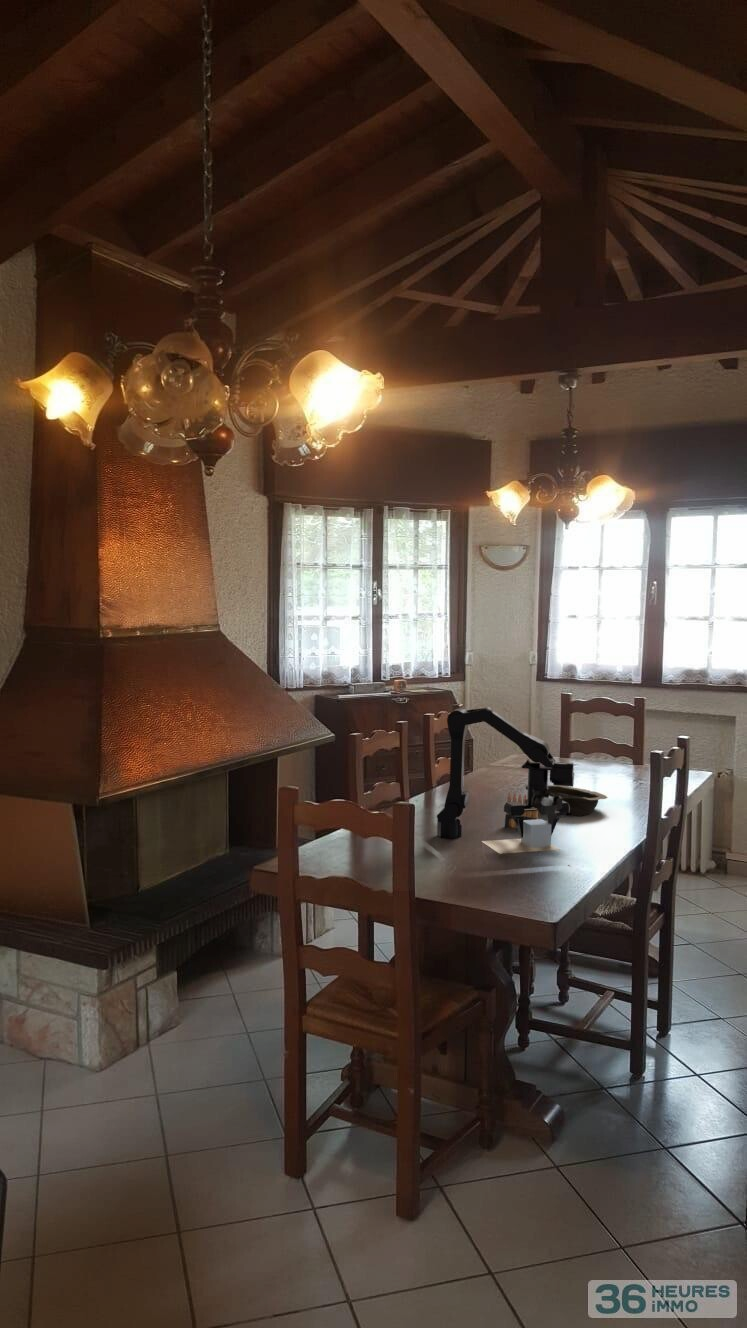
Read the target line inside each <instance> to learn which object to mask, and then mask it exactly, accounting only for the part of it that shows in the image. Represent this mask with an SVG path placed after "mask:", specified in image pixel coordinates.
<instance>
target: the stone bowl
mask: <svg viewBox="0 0 747 1328" xmlns="http://www.w3.org/2000/svg"><path fill="white" fill-rule="evenodd" d="M548 789H550V796H551V797H555V796H561V798H562V800H563V801H565V802H567V803H568V804H569V806H570V812H569V813H570V814H571V815H573V816H574V815H577V817H582V816H585V815H586V816H589V815H590V814H592V813H593V812H594V810H595V809H596V807H597V805H598V803H599V800H606V799H608V798H609V797H608V796H607V795H605V794H603V793H600V792H597V791H594V790H593V791H591V790H589V789H583V788H578V787H574V786H573V787H571V786H557V785H553V784H552V785H551V784H550V785H549V784H548Z"/></svg>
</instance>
